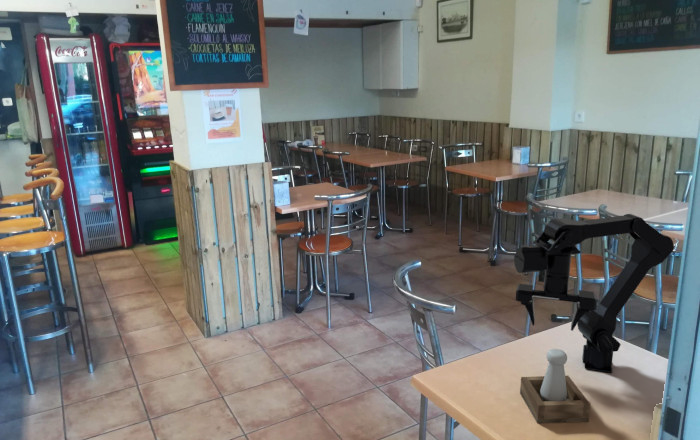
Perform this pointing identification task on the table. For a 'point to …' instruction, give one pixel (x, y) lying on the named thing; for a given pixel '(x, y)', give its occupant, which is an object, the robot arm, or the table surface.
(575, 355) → the table surface
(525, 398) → the socket block
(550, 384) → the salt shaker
